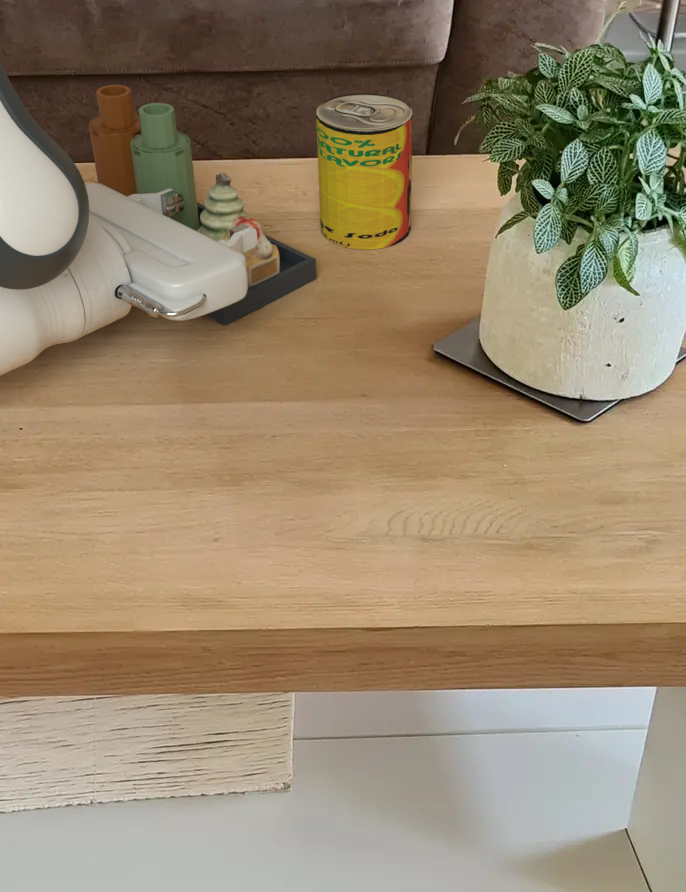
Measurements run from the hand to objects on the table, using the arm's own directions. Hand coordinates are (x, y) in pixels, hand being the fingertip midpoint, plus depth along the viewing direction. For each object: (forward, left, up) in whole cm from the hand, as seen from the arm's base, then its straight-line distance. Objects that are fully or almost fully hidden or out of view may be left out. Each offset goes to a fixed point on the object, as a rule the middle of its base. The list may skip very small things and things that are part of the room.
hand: (214, 215), depth 101 cm
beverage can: (+1, +18, -8) cm, 19 cm away
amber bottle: (-15, +2, -7) cm, 17 cm away
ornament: (0, +2, -7) cm, 7 cm away
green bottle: (-9, +2, -7) cm, 12 cm away
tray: (-7, +2, -7) cm, 10 cm away
